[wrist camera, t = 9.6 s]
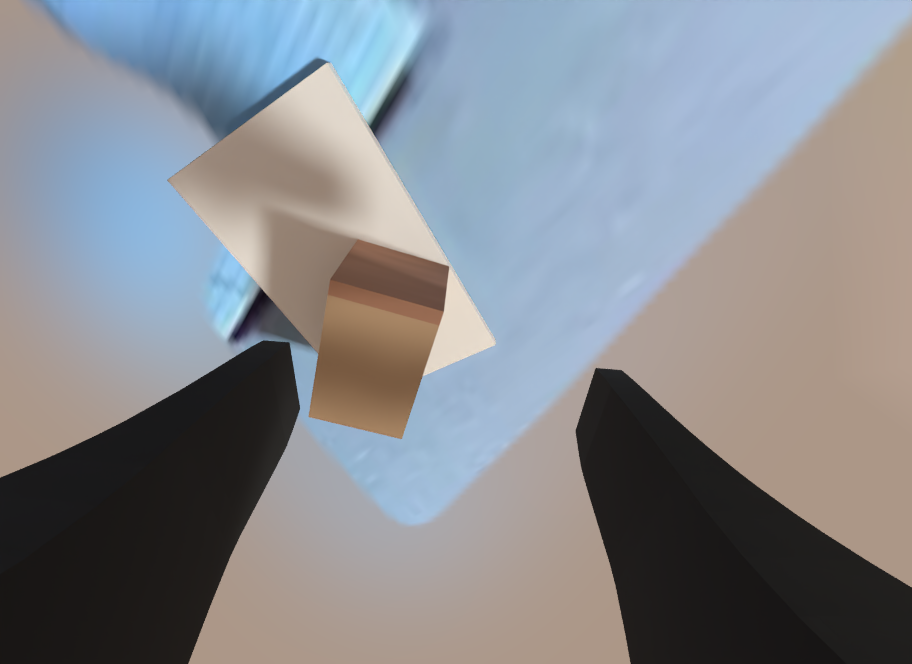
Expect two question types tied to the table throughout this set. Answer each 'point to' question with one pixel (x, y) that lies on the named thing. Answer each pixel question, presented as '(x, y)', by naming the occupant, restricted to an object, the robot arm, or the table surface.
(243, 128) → the beige board
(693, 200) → the table surface
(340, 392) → the walnut block
